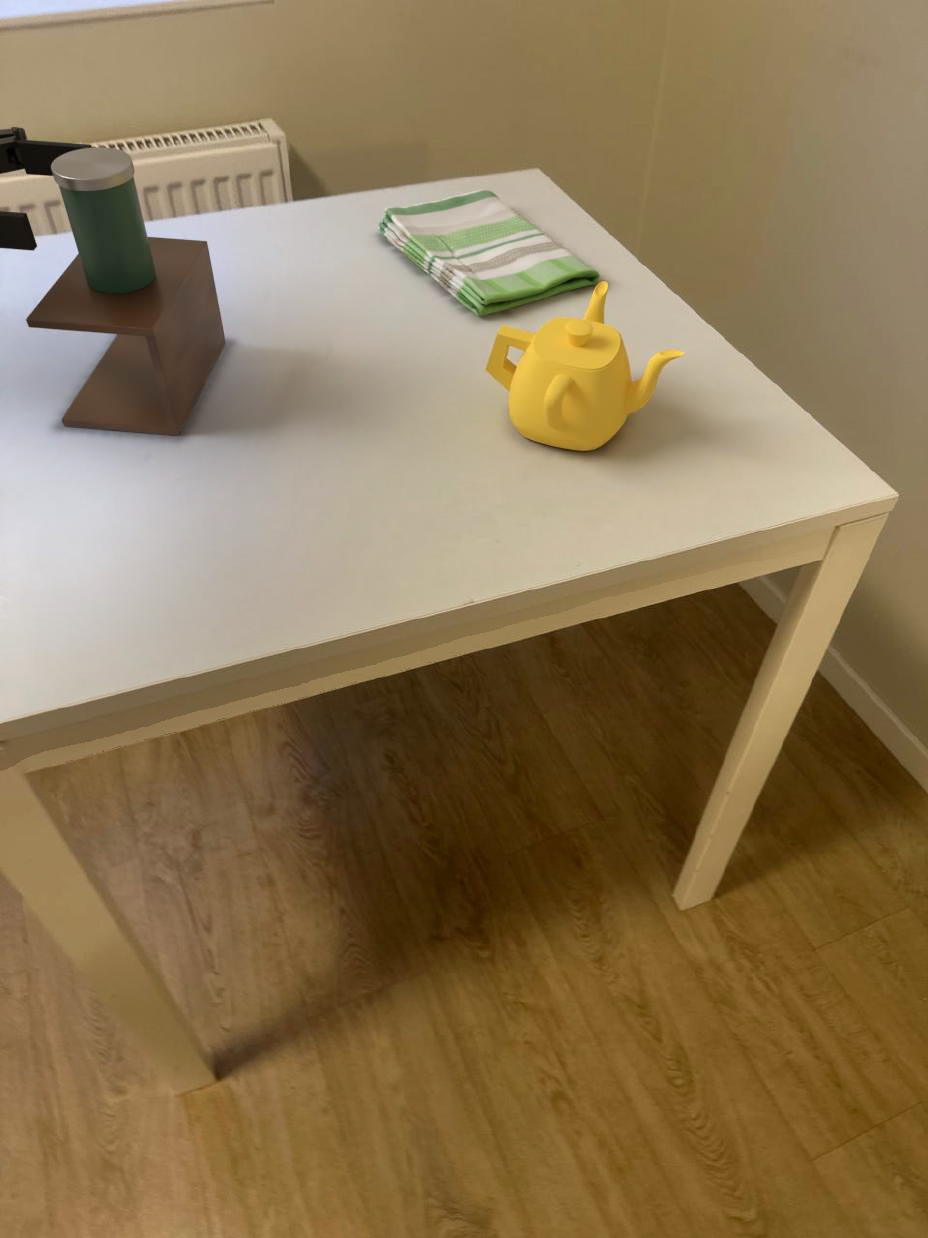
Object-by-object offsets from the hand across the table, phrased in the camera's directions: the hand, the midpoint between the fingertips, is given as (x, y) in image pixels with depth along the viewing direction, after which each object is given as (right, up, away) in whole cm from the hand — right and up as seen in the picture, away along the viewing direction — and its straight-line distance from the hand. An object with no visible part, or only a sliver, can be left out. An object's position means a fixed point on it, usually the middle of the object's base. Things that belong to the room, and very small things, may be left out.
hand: (64, 194), depth 78 cm
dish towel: (+36, +7, +32) cm, 49 cm away
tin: (+3, -5, +5) cm, 8 cm away
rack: (+3, -12, +13) cm, 18 cm away
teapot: (+44, -16, +11) cm, 49 cm away
